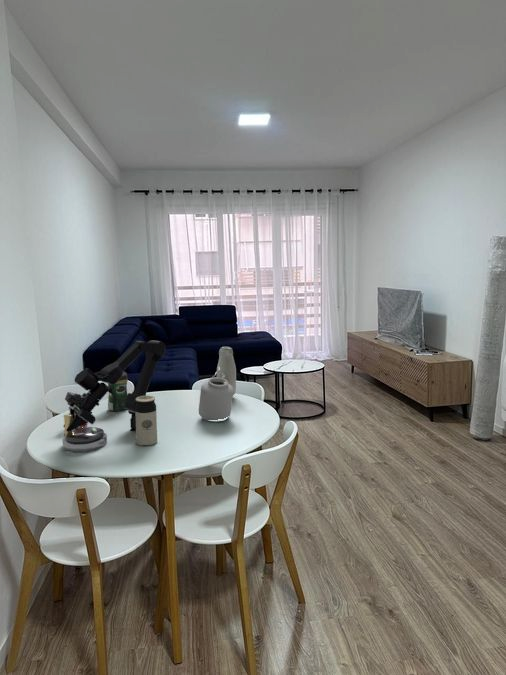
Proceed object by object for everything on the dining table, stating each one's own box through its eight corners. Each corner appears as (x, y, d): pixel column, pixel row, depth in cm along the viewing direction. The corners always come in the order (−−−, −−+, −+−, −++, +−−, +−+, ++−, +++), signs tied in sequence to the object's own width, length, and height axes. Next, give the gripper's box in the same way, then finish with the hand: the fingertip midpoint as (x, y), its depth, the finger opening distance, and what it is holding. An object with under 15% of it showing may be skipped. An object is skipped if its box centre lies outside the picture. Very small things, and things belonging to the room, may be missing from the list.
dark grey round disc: (113, 437, 177) (113, 430, 177) (96, 453, 161) (95, 445, 161) (75, 436, 179) (75, 429, 178) (54, 451, 163) (54, 444, 162)
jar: (242, 422, 197) (242, 367, 194) (214, 428, 188) (214, 371, 185) (219, 411, 212) (219, 361, 209) (192, 417, 203) (192, 364, 200)
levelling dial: (109, 430, 176) (108, 408, 175) (96, 444, 163) (95, 419, 161) (74, 430, 177) (73, 407, 175) (58, 443, 163) (57, 419, 161)
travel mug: (138, 438, 176) (137, 395, 174) (158, 438, 177) (157, 395, 174) (134, 446, 168) (132, 401, 166) (155, 446, 169) (154, 400, 166)
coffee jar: (124, 405, 221) (123, 369, 219) (131, 409, 215) (130, 372, 213) (105, 409, 215) (104, 372, 213) (112, 412, 209) (110, 375, 207)
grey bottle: (237, 396, 240) (237, 345, 236) (232, 401, 230) (232, 348, 226) (220, 394, 242) (220, 344, 238) (214, 400, 232) (214, 347, 228)
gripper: (71, 379, 173) (43, 411, 168) (84, 389, 158) (54, 425, 153) (92, 395, 179) (66, 426, 174) (107, 406, 164) (78, 441, 159)
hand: (65, 429), depth 165 cm, fingers open, 4 cm apart
